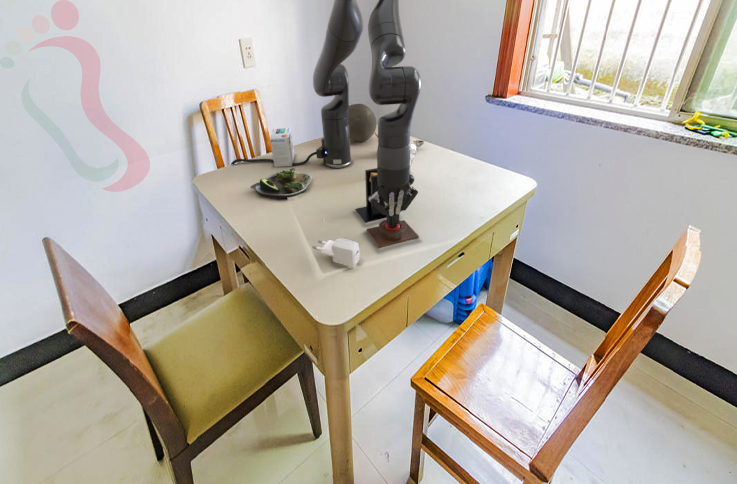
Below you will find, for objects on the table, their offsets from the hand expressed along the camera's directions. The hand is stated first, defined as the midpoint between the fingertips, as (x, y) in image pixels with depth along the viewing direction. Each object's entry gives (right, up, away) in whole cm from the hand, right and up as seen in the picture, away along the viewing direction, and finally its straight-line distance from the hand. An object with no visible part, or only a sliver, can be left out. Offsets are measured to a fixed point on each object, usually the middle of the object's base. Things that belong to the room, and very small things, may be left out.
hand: (392, 225), depth 96 cm
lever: (0, +12, +8) cm, 14 cm away
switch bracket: (-4, +4, +12) cm, 13 cm away
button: (0, -1, +1) cm, 2 cm away
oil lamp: (+6, +30, +49) cm, 58 cm away
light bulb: (+7, +19, +34) cm, 39 cm away
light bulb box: (-38, +26, +45) cm, 64 cm away
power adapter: (-14, -9, -5) cm, 17 cm away
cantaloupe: (-10, +37, +60) cm, 72 cm away
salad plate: (-34, +13, +27) cm, 45 cm away
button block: (0, -3, +2) cm, 4 cm away
